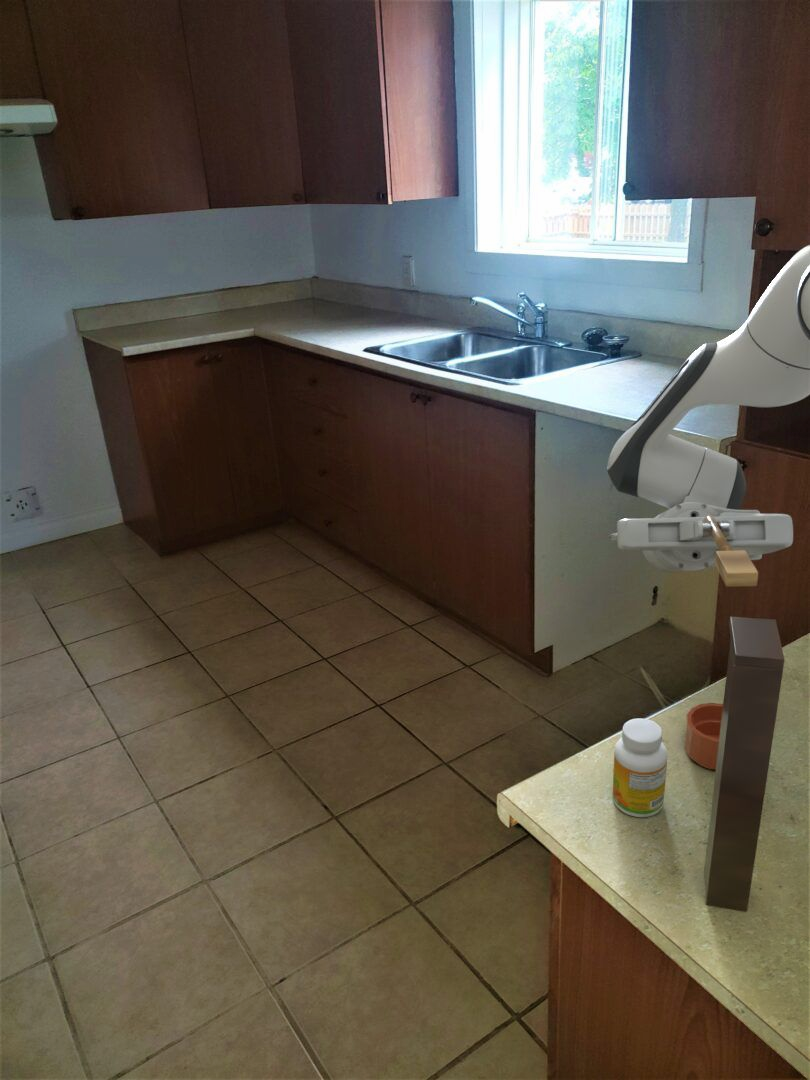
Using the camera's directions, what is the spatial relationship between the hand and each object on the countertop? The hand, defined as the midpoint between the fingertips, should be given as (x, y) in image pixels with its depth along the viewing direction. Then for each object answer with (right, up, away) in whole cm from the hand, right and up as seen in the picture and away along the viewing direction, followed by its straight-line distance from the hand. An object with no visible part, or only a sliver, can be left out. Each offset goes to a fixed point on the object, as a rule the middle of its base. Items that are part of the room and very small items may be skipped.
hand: (716, 528), depth 92 cm
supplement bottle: (-10, -30, -3) cm, 32 cm away
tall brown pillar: (-5, -35, -14) cm, 38 cm away
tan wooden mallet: (0, -3, -3) cm, 4 cm away
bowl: (+1, -26, +3) cm, 26 cm away
